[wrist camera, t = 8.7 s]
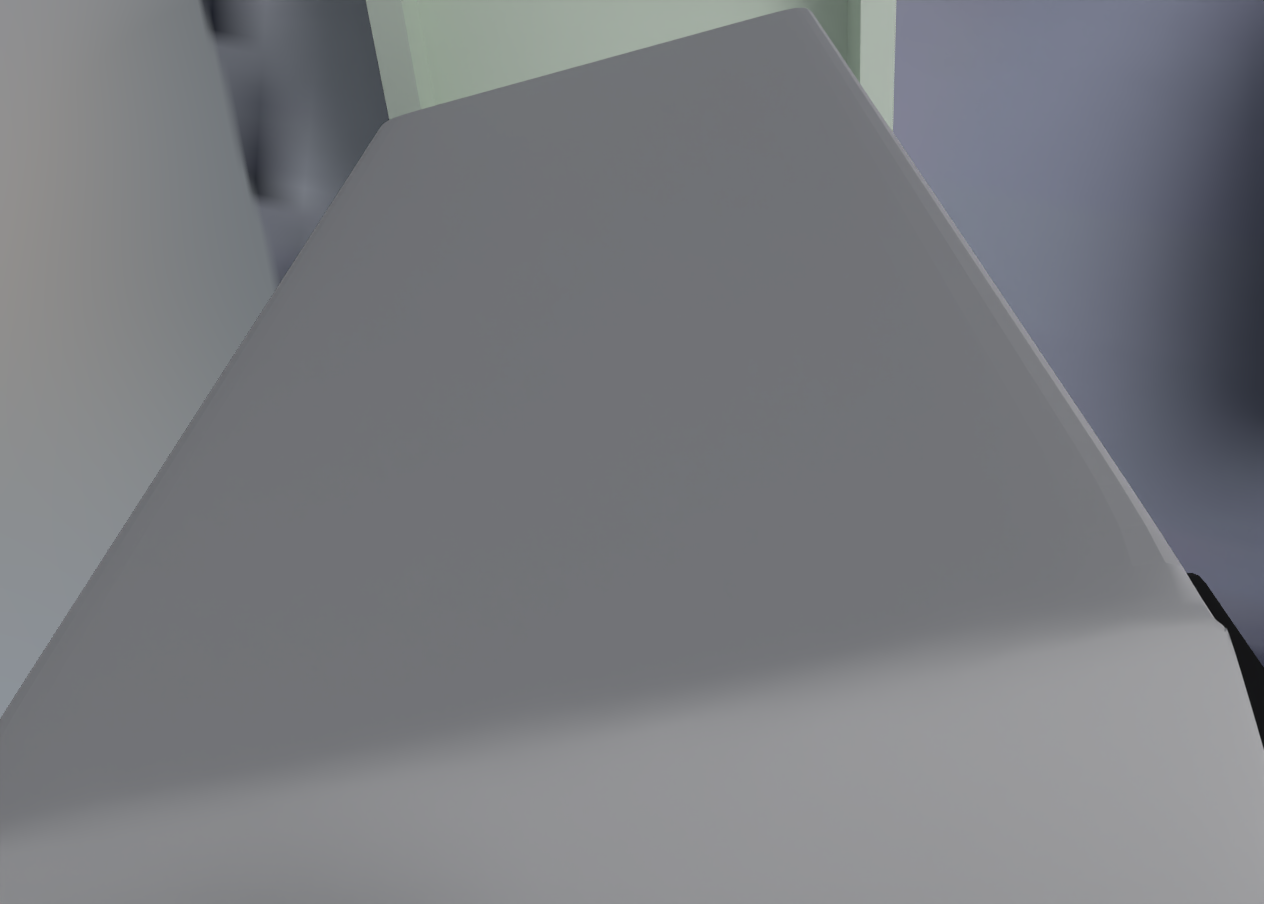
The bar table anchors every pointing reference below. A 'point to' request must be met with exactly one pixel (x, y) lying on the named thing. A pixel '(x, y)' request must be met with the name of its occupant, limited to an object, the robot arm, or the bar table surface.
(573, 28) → the tray
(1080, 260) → the bar table surface
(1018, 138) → the bar table surface
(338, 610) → the milk carton
